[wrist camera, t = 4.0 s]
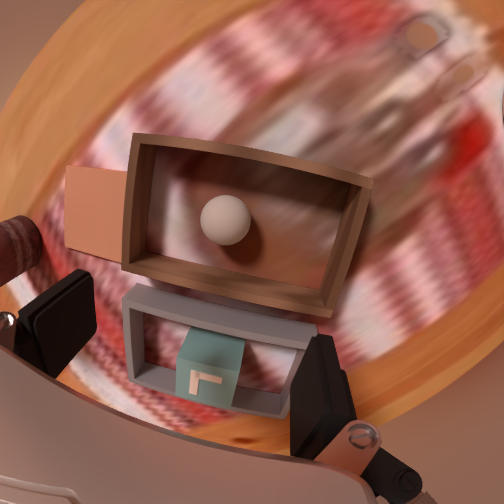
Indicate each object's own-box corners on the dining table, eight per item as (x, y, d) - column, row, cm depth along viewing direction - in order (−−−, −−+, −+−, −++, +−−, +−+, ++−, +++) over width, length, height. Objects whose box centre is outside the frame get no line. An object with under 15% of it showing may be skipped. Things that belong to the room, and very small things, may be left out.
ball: (257, 197, 20) (252, 205, 17) (247, 241, 21) (242, 257, 18) (211, 188, 20) (198, 194, 17) (204, 232, 22) (191, 245, 18)
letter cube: (246, 335, 24) (239, 373, 20) (237, 372, 26) (229, 409, 21) (193, 322, 25) (176, 357, 20) (189, 360, 26) (174, 396, 21)
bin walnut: (361, 176, 19) (374, 179, 16) (324, 299, 23) (330, 318, 20) (151, 134, 19) (133, 132, 16) (137, 256, 23) (121, 269, 20)
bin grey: (315, 324, 23) (319, 344, 21) (284, 398, 27) (284, 419, 24) (137, 283, 24) (121, 298, 21) (139, 363, 27) (129, 381, 24)
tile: (138, 173, 20) (136, 173, 20) (131, 263, 23) (129, 265, 23) (69, 165, 20) (66, 165, 20) (67, 245, 23) (65, 246, 23)
